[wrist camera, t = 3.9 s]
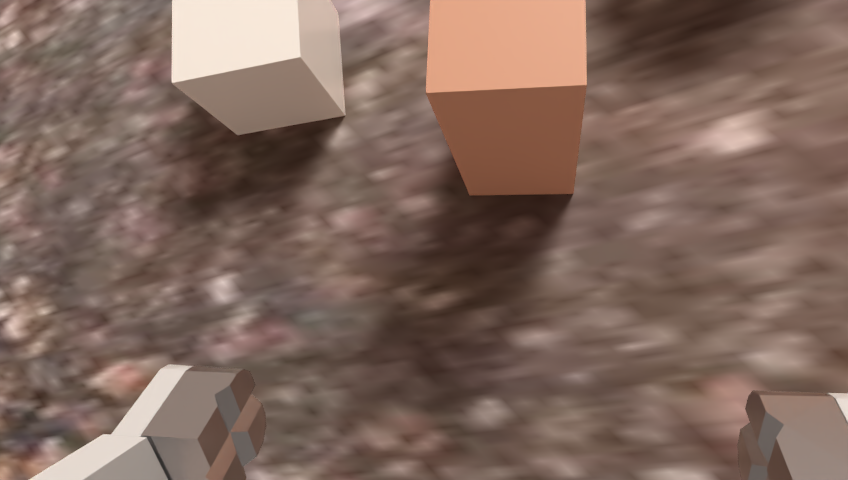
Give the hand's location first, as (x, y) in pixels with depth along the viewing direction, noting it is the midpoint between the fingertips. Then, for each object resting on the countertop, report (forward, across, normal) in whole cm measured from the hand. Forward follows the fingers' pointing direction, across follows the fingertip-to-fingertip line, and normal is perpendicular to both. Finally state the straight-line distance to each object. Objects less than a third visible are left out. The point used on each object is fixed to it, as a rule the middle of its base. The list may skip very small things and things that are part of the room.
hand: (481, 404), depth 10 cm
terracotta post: (+16, 0, +2) cm, 16 cm away
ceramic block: (+18, +10, 0) cm, 21 cm away
